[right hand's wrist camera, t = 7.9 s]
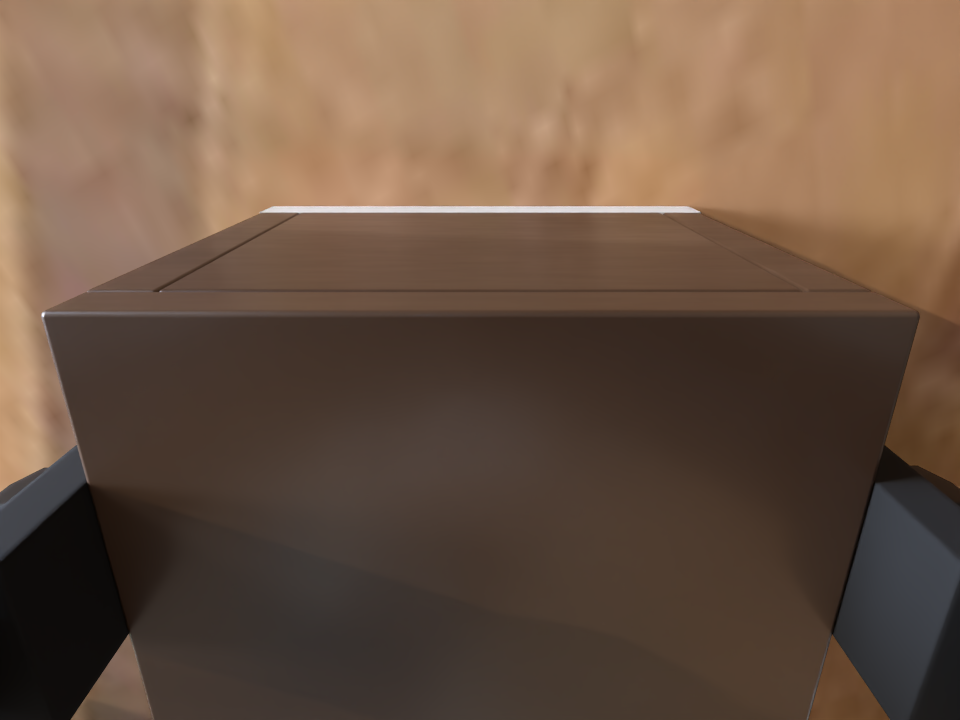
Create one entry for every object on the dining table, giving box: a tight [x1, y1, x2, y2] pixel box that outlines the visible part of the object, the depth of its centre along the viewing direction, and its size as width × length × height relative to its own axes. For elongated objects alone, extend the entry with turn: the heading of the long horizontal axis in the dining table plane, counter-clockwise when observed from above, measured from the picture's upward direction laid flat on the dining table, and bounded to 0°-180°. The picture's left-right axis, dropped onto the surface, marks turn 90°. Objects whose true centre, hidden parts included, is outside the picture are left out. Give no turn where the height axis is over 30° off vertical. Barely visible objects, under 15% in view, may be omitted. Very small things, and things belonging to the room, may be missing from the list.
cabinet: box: [42, 206, 920, 720], centre depth 14 cm, size 15×11×9 cm
